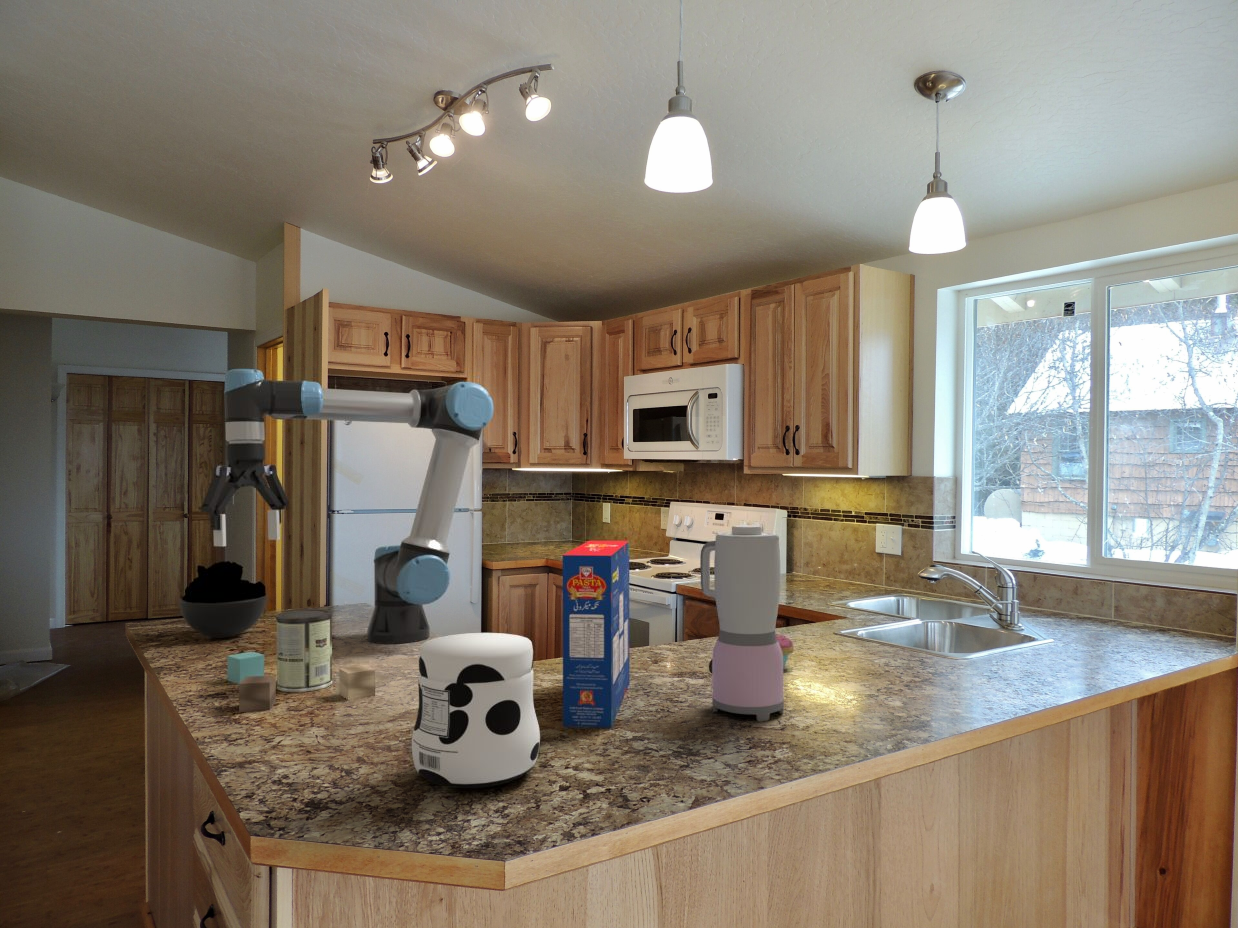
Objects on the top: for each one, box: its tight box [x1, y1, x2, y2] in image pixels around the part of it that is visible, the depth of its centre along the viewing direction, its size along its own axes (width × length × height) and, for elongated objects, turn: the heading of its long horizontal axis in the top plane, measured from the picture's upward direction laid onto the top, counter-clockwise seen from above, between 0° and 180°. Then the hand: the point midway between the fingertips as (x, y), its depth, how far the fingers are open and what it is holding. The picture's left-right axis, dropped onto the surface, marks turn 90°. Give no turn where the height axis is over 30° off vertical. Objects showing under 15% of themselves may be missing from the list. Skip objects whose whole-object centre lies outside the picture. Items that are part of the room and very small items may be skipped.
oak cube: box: [338, 664, 376, 701], centre depth 154 cm, size 5×5×5 cm
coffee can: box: [275, 608, 333, 693], centre depth 161 cm, size 10×10×14 cm
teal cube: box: [226, 651, 265, 685], centre depth 165 cm, size 5×5×5 cm
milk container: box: [411, 632, 541, 789], centre depth 113 cm, size 17×17×18 cm
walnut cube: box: [238, 674, 277, 713], centre depth 146 cm, size 5×5×5 cm
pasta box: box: [562, 540, 631, 729], centre depth 148 cm, size 28×8×28 cm, turn 173°
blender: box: [699, 524, 785, 722], centre depth 144 cm, size 16×12×32 cm
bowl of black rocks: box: [178, 560, 268, 639], centre depth 208 cm, size 20×20×19 cm
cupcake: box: [775, 633, 795, 670], centre depth 174 cm, size 9×8×12 cm
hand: (247, 542), depth 175 cm, fingers open, 13 cm apart
